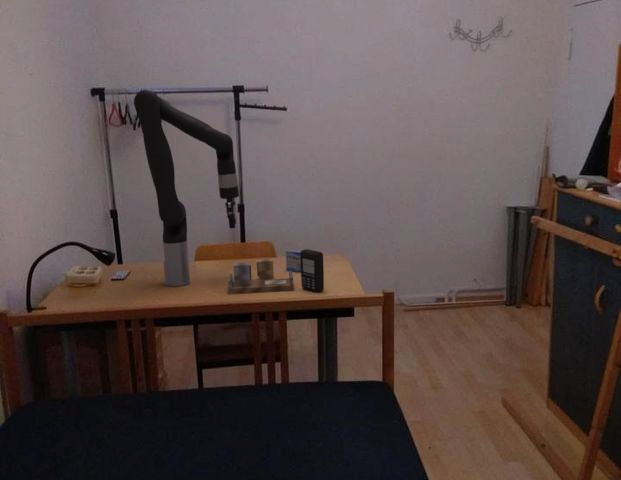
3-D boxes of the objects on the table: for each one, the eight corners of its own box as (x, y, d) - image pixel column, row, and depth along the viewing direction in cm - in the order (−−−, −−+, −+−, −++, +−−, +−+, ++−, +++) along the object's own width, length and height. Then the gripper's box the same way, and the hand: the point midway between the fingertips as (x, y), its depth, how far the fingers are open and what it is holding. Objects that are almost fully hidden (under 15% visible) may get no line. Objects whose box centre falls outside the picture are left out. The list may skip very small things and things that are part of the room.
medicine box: (286, 271, 249) (285, 251, 247) (291, 268, 253) (290, 248, 251) (302, 272, 245) (301, 252, 243) (307, 270, 249) (306, 250, 247)
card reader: (300, 288, 223) (298, 250, 220) (307, 286, 226) (306, 248, 222) (317, 293, 216) (316, 253, 213) (324, 291, 219) (323, 251, 216)
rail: (229, 294, 219) (227, 268, 217) (230, 286, 229) (228, 261, 227) (293, 290, 221) (292, 264, 219) (292, 283, 231) (291, 258, 229)
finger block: (257, 281, 235) (256, 261, 233) (257, 278, 239) (256, 259, 237) (273, 280, 236) (273, 261, 234) (273, 277, 239) (272, 258, 238)
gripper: (219, 184, 237) (224, 223, 241) (217, 188, 224) (222, 230, 227) (238, 182, 238) (242, 222, 241) (237, 186, 224) (241, 228, 227)
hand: (232, 226), depth 234 cm, fingers open, 8 cm apart
